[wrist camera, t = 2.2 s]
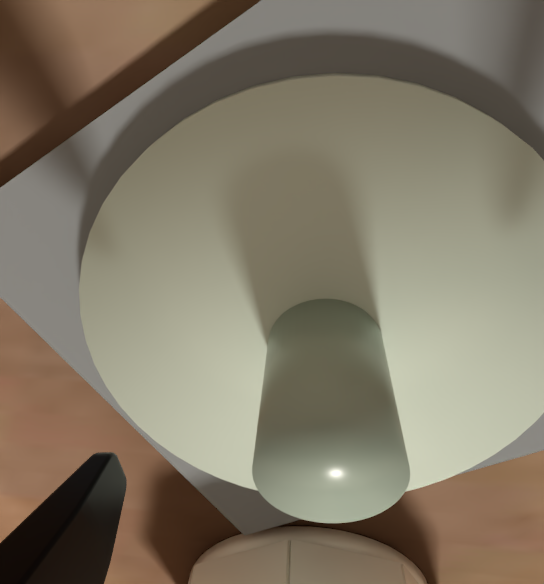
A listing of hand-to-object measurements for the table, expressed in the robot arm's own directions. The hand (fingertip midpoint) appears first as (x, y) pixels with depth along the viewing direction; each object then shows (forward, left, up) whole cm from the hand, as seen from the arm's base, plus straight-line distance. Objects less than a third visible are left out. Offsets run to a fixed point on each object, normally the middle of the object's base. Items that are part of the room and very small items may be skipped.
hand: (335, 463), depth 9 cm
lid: (0, 0, -4) cm, 5 cm away
